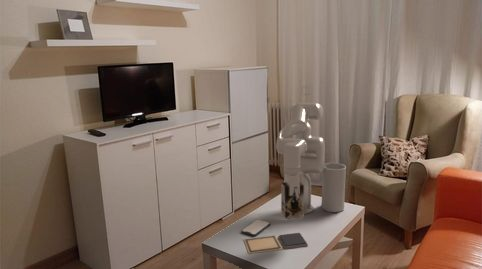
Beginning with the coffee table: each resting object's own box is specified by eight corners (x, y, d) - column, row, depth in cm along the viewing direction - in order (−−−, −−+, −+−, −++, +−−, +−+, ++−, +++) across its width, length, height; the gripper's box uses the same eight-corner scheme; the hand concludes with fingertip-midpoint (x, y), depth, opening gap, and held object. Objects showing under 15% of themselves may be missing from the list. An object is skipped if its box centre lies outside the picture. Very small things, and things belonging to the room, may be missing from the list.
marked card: (243, 239, 181) (243, 238, 181) (275, 235, 184) (275, 234, 184) (248, 253, 169) (248, 252, 169) (282, 249, 172) (282, 248, 171)
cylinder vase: (327, 201, 221) (329, 161, 215) (347, 207, 213) (349, 165, 207) (317, 208, 211) (318, 166, 206) (338, 214, 204) (340, 171, 198)
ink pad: (278, 237, 182) (278, 234, 182) (299, 234, 184) (299, 232, 184) (284, 249, 172) (284, 246, 171) (307, 246, 174) (307, 243, 173)
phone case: (257, 221, 201) (240, 233, 188) (257, 218, 201) (240, 230, 188) (271, 225, 196) (254, 238, 183) (271, 222, 196) (254, 235, 183)
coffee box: (285, 220, 171) (284, 187, 167) (281, 214, 177) (280, 182, 173) (304, 217, 173) (304, 184, 169) (299, 211, 179) (299, 180, 175)
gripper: (278, 164, 177) (279, 199, 181) (289, 176, 161) (290, 214, 165) (294, 163, 179) (294, 197, 183) (306, 174, 162) (306, 212, 166)
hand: (292, 205), depth 174 cm, fingers closed on coffee box, 6 cm apart
